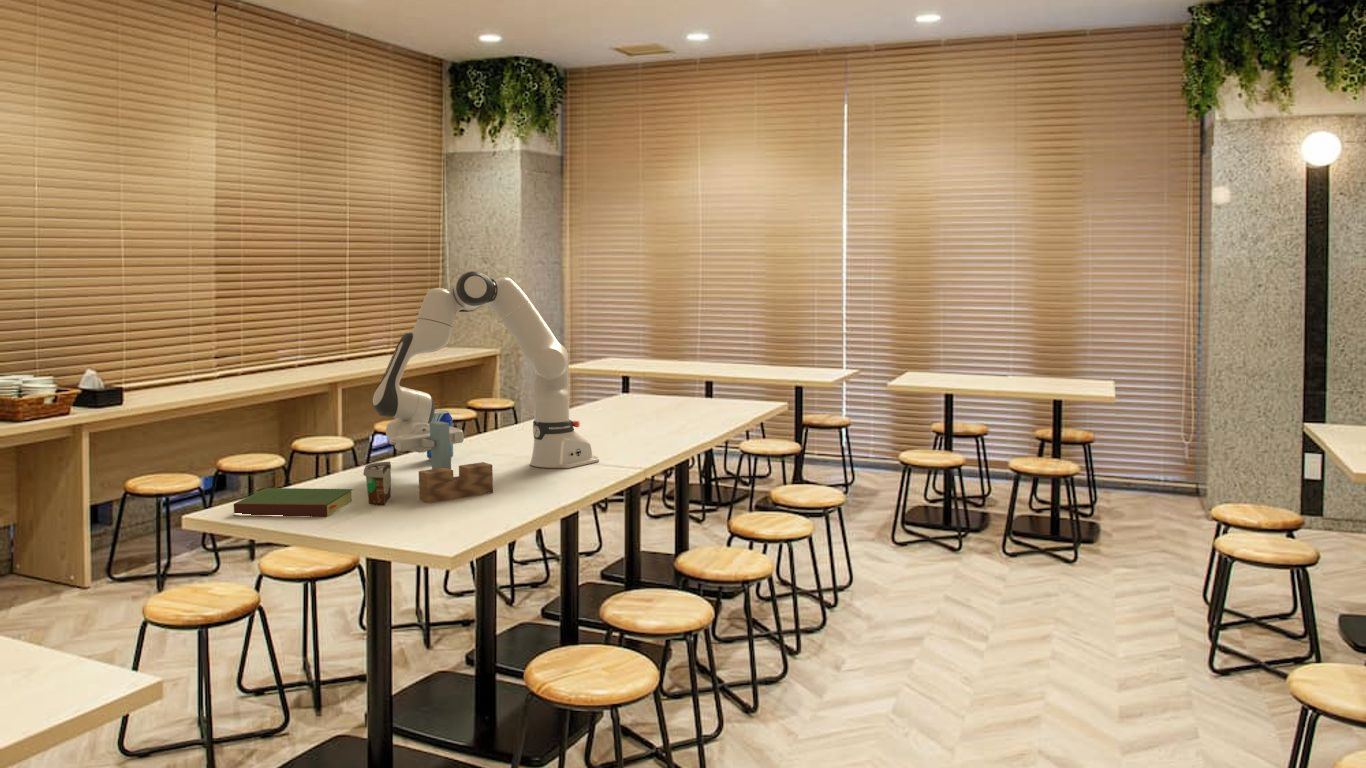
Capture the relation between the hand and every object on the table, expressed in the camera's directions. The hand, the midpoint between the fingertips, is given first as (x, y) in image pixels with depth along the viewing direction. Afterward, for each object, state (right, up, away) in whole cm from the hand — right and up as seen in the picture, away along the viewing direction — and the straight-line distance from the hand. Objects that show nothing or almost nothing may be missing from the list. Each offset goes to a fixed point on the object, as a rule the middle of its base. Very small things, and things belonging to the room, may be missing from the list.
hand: (441, 442), depth 309 cm
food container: (-14, -15, -16) cm, 26 cm away
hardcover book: (-33, -17, -23) cm, 44 cm away
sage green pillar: (0, -8, +2) cm, 8 cm away
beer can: (-10, -8, +44) cm, 46 cm away
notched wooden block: (+6, -14, -10) cm, 18 cm away
